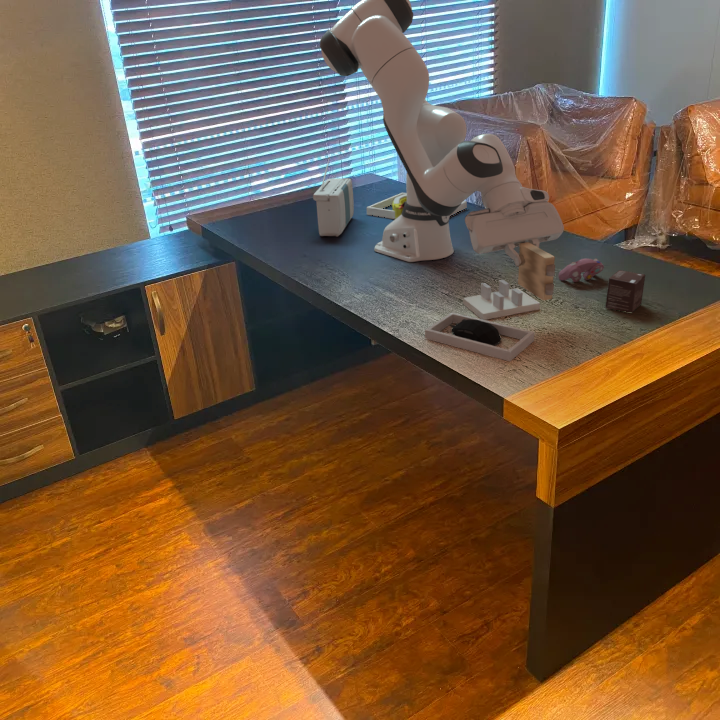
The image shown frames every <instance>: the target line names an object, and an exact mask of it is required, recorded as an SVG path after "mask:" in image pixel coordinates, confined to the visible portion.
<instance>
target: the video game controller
mask: <svg viewBox="0 0 720 720" xmlns="http://www.w3.org/2000/svg"><path fill="white" fill-rule="evenodd" d="M604 269H605V266H604V264H603V263H602V261H600V260H598V258H594V259H592V258H580V259H579V260H577V261H572V262H570V263H569V264H568V265H566V266H565V267H563V268H562V269H561V270H560V271H559V272H558V279H559V281H566V280H568V279H571V280H572V282H573V283H577V282H579V281H580V280H581V279H582V278H584V280H585V281H590V280H591V279H593V277H595V276H596V275H598V274H599V273H601V272H602V271H603V270H604ZM581 273H583V274H581ZM582 276H583V277H582Z"/></svg>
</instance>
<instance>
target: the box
mask: <svg viewBox="0 0 720 720" xmlns="http://www.w3.org/2000/svg"><path fill="white" fill-rule="evenodd" d="M645 281H646V274H644V273H637V272H633V271H627V270H621V269H620V270H617V271H616V272H615V273H614V274H612V275H611V276H610V277H609V278H608V283H607V291H606V299H605V307H604V308H605V309H606V308H608V309H607V310H610V309H614V310H613V311H616V310H620V311H626V312H633V311H634V310H635V309H636V308H637V307H638V306H639V305H640V304H641V305H642V303H643V302H642V301H643V294H644V289H645V287H644V286H645ZM641 305H640V306H641ZM640 306H639V307H640ZM639 307H638V308H639ZM638 308H637V309H638ZM637 309H636V310H637ZM636 310H635V311H636ZM620 311H619V312H620ZM635 311H634V312H635ZM634 312H633V313H634Z"/></svg>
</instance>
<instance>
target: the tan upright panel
mask: <svg viewBox="0 0 720 720" xmlns="http://www.w3.org/2000/svg"><path fill="white" fill-rule="evenodd" d="M518 249H519V250H518V251H519V252H518V254H519V255H523V256H524V259H525V264H524V265H521V266H518V276H517V278H518V279H517V280H518V281H517V284H518V285H519V286H520V287H522V288H523V289H525V290H527V292H530V293H531V294H533V295H534V296H535V297H537V298H539V299H540V300H541V301H548V300H552V299H553V295H554V292H555V291H554V289H555V283H554V276H555V275H556V274H555V271H556V264H555V260H556V257H555V256H554V255H552V254H551V253H549V252H547V251H545V250H543V249H541V248H540V247H539V248H538V247H536V246H534V245H533V244H531V243H529V242H526V243H521V244H520V246H519V248H518Z"/></svg>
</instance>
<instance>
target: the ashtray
mask: <svg viewBox="0 0 720 720" xmlns="http://www.w3.org/2000/svg"><path fill="white" fill-rule="evenodd" d="M406 201H407V194H404V195H401V196H398V197H396V198H395V199H394V201H393V203H392V205H391V207H392V209H391V210H393V211H395V219H396V218H398V217H399V216H400V215H401V214H402V211H403V208H402V209H399V207H401V206H399V205H401V204H403V203H404V202H406ZM395 219H394V220H395Z"/></svg>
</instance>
